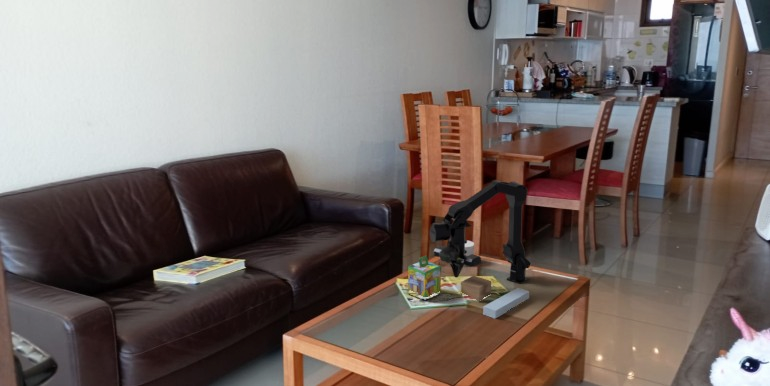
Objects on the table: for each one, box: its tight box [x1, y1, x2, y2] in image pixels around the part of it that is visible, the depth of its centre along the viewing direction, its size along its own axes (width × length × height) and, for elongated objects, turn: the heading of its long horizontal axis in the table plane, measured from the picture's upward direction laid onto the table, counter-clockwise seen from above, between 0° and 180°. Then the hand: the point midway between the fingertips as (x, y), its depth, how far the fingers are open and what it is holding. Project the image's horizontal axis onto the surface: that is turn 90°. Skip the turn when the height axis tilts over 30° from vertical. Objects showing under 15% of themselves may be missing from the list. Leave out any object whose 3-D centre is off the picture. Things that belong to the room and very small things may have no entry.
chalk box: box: [407, 255, 442, 297], centre depth 235 cm, size 9×9×15 cm
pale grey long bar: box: [482, 287, 530, 319], centre depth 226 cm, size 22×5×3 cm, turn 136°
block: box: [460, 275, 492, 301], centre depth 235 cm, size 8×8×6 cm
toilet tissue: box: [463, 239, 475, 268], centre depth 268 cm, size 9×13×9 cm
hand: (456, 277), depth 241 cm, fingers closed
